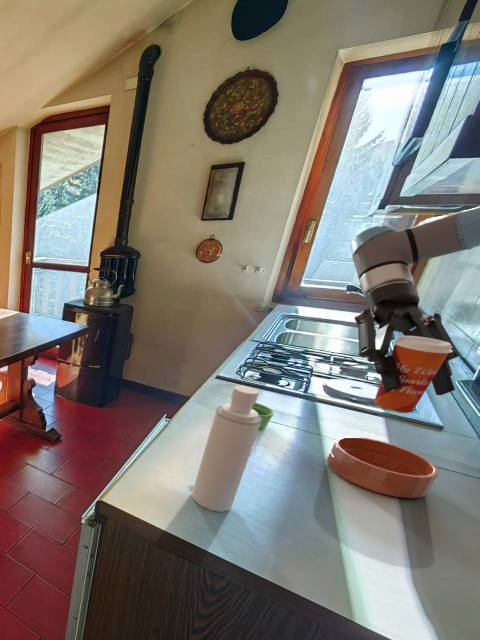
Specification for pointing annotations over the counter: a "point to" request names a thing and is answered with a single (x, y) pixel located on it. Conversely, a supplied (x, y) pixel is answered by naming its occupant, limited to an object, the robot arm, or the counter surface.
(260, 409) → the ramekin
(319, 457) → the counter surface
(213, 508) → the white bottle
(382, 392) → the paper cup
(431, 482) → the bowl
